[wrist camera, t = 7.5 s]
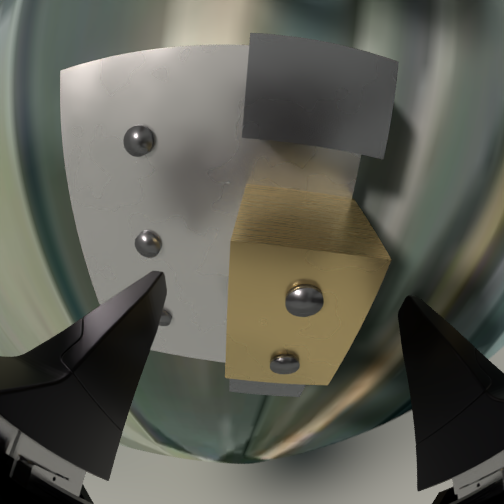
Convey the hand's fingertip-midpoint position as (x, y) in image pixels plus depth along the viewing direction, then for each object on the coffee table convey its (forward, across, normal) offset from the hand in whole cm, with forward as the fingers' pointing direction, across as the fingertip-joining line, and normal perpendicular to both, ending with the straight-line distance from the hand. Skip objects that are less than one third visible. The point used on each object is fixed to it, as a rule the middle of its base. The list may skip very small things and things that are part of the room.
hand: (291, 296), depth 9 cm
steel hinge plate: (+4, +4, 0) cm, 5 cm away
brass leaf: (+2, 0, 0) cm, 2 cm away
